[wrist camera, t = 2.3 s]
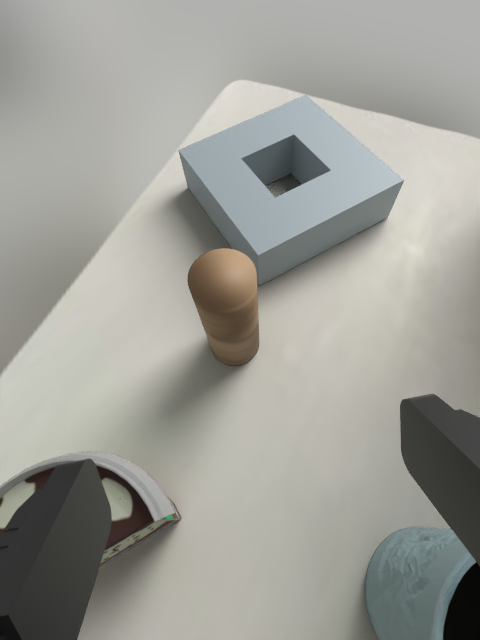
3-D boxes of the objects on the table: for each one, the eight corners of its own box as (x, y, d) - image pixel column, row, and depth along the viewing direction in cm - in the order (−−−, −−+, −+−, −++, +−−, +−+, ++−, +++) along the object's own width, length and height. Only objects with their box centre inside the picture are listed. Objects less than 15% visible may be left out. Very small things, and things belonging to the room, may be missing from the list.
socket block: (301, 135, 44) (305, 94, 39) (387, 217, 37) (404, 179, 33) (187, 187, 41) (178, 150, 37) (258, 286, 35) (258, 255, 30)
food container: (167, 433, 29) (124, 406, 20) (199, 507, 26) (166, 514, 17) (21, 514, 27) (-100, 525, 18) (40, 603, 24) (-89, 667, 15)
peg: (243, 313, 33) (235, 238, 24) (268, 350, 32) (270, 285, 22) (202, 335, 33) (176, 267, 23) (225, 374, 31) (207, 319, 21)
